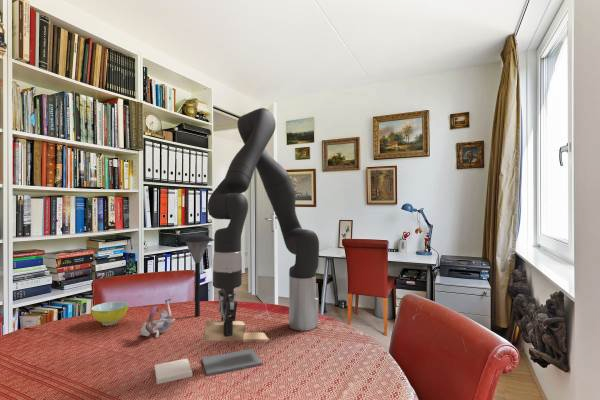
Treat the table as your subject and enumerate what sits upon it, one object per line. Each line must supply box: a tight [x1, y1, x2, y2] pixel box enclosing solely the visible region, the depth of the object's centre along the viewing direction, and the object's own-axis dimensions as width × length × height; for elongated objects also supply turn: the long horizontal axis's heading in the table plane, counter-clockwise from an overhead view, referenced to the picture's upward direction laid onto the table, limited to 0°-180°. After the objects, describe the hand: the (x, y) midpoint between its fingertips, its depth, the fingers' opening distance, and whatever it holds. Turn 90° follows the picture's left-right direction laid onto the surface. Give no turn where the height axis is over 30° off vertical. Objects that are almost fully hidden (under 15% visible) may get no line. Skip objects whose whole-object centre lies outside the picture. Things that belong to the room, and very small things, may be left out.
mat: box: [201, 348, 263, 377], centre depth 89 cm, size 14×9×1 cm, turn 114°
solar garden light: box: [180, 234, 214, 318], centre depth 125 cm, size 12×12×30 cm
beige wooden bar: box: [203, 320, 270, 343], centre depth 90 cm, size 17×5×4 cm, turn 113°
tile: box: [154, 358, 193, 385], centre depth 84 cm, size 2×8×8 cm
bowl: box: [90, 301, 129, 327], centre depth 117 cm, size 11×12×6 cm
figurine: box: [139, 297, 176, 339], centre depth 108 cm, size 12×9×15 cm
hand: (226, 333), depth 89 cm, fingers closed on beige wooden bar, 3 cm apart
